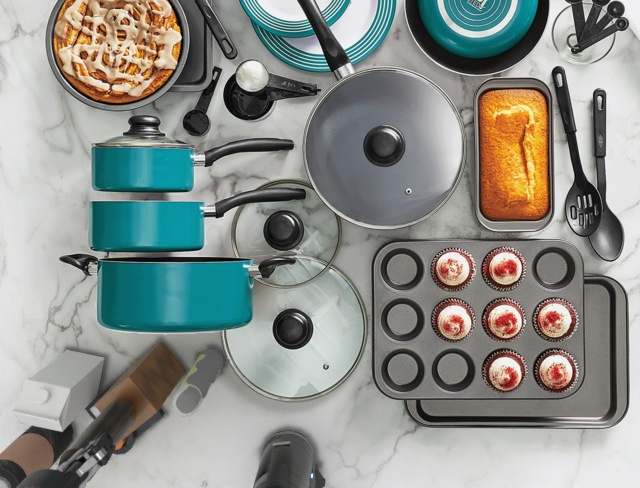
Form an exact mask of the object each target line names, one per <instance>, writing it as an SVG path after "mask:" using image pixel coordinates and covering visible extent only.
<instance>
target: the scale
mask: <svg viewBox="0 0 640 488" xmlns="http://www.w3.org/2000/svg"><path fill="white" fill-rule="evenodd" d="M117 381H118V380H116V381H115V382H114V383H113V384H111V385H110V386H109V387H108V388H106V389H105V390H104V391H103V392H102V393H100V394H99V395H97V397H96V398H95V399H94V400H93V401H92V402H91V403H90V404H89V405H88V406H87V407H86V408H85V409H84V410H85V411H86V412H87V413H88V414H89V416H90V417H91V418H92V419H93V421H94V420H95V419H96V417H95V416H94V414H93V413H92V412H91V411H90V408H91V407H93V406H94V405H95V404H96V403H97V401H98V400H99V399H100V398H101V397H102V396H103V395H104V394H105V393H106V392H107V391H108V390H109V389H110V388H111V387H112V386H113V385H114V384H115V383H116V382H117ZM164 415H165V412H164V411H163V409H162V408H160V409H159V410H158V412H157V413H156V414H154V415H153V416H152V417H151V418H149V419H148V420H147V421H146V422H144V423H143V424H142V425H141V426H140V427H138V428H137V429H136V430H135V431H133V432H132V433H131V434H130V435H129V436H127V437H126V440H125V443H124V444H123V446H122V447H121V448H120V449H117V450H114V452H113V454H112V455H115V456H118V455H125V454H127V453H128V452H129V451H130V450H131V449H132V448H133V447H134V445H135V443H136V440H137V438H139V437H140V436H141V435H142V434H143V433H145V432H146V431H147V430H148V429H149V428H151V427H152V426H153V425H154V424H156V423H157V422H158V421H160V420H161V418H163V417H164Z"/></svg>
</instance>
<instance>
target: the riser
mask: <svg viewBox="0 0 640 488" xmlns="http://www.w3.org/2000/svg"><path fill="white" fill-rule="evenodd" d="M186 372H187V370H186V368H184V366H183V364H182V363H180V361H179V360H178V359H177V357H175V355H174V354H173V352H171V350H170V349H169V348H168V346H167V345H166V344H165V343H164V342H163V341H160V342H158V343H157V344H156V345H155V346H154V347H152V348H151V349H150V350H149V351H147V352H146V353H145V354H144V355H143V356H141V357H140V358H138V360H137V361H135V362H134V363H133V364H132V365H131V366H130V367H128V369H127V370H126V371H125V372H124V373H123V374H122V375H121V376H120V378H118V379H117V380H116V381H117V382H116V381H115V382H116V383H115V382H114V383H115V384H114V383H113V384H114V385H113V384H112V385H113V386H112V385H111V386H112V387H111V388H110V389H109V390H108V391H107V392H106V393H105V394H104V395H103V396H102V397H101V398H100V399H99V400H98V401H97V403H96V404H95V405H94V406H95V407H96V408H97V409H98V410H99V412H100V413H101V412H102V411H103V410H104V409H105V408H106V407H107V405H108V404H109V403H110V402H112V401H113V400H116V399H125V400H127V401H129V402H130V403H132V404H133V406H134V407H135V410H136V420H135V423H134V424H133V425H132V427H131V428H130V429H129V431H128V432H127V433H126V435H125V436H124V437H123V438H122V440H124V439H125V438H126V437H127V436H129V435H130V434H131V433H132V432H133V431H135V430H136V429H137V428H138V427H140V426H141V425H142V424H143V423H144V422H146V421H147V420H148V419H149V418H151V417H152V416H153V415H154V414H156V413H157V412H158V410H159V409H160V408H161V407H162V406H163V405H164V403H165V402H166V401H167V399H168V398H169V396H170V395H171V393H172V392H173V390H174V389H175V388H176V386H177V385H178V384H179V383H180V381H181V379H182V378H183V377H184V375H185V374H186ZM161 409H162V408H161Z"/></svg>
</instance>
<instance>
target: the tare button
mask: <svg viewBox="0 0 640 488" xmlns="http://www.w3.org/2000/svg"><path fill="white" fill-rule="evenodd" d="M125 440H126V438H125V439H124V440H121V441H120V442H119V444H118V445H117V446H116V448H115V450H117V449H120V448H121V447H122V446H123V444H124V443H125Z"/></svg>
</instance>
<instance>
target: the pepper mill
mask: <svg viewBox="0 0 640 488" xmlns="http://www.w3.org/2000/svg"><path fill="white" fill-rule="evenodd" d="M135 420H136V410H135V407H134V406H133V404H132V403H130V402H129V401H127V400H125V399H116V400H113V401H112V402H110V403H109V404H108V405H107V407H106V408H105V409H104V410H103V411H102V412H101V413H100V414H99V415H98V416H97V417H96V419H95V420H94V419H93V420H92V422H91V423H90V424H89V425H88V426H87V427H86V428H85V429H84V430H83V431H82V433H80V435H79V436H78V437H77V438H76V439H75V440H74V441H73V442H72V443H71V444H70V445H69V446H68V447H67V449H66V450H65V451H64V452H63V454H62V455H61V456H60V457H59V459H58V460H59V461H58V467H59V466H60V465H61V464H63V463H64V462H65V461H67V460H68V459H69V458H70V457H71V456H72V455H73V454H74V453H75V452H77V451H78V450H80V449H81V448H84V449H85V448H86V447H87V446H88V445H89V442H91V441H93V439H94V438H95V437H96V436H97V435H98V434H99V433H100V432H101V431H102V430H104V431H107V432H108V433H109V434H110V435H111V437H112V438H113V445H115V447H116V446H117V445H118V444H119V442H120V441H121V440H122V438H123V437H124V436H125V435H126V433H127V432H128V431H129V429H130V428H131V427H132V425H133V424H134V423H135ZM88 454H89V453H88ZM89 455H90V454H89ZM75 461H78V460H75ZM75 461H74V462H75ZM98 466H99V465H98ZM101 468H102V467H101V466H100V467H99V469H98V470H97V472H98V471H99V470H100V469H101ZM97 472H96V473H97ZM96 473H95V474H94V475H93V476H92V477H91V478H90V479H89V480H88V481H87V483H89V482H90V481H91V480H92V479H93V478H94V476H95V475H96Z"/></svg>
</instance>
